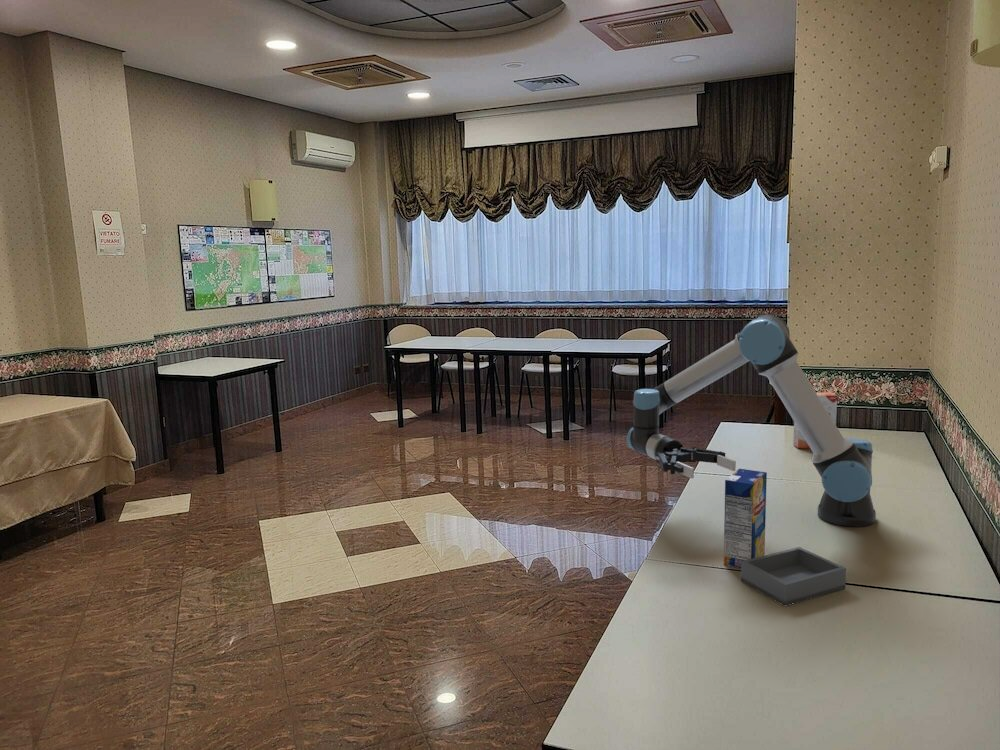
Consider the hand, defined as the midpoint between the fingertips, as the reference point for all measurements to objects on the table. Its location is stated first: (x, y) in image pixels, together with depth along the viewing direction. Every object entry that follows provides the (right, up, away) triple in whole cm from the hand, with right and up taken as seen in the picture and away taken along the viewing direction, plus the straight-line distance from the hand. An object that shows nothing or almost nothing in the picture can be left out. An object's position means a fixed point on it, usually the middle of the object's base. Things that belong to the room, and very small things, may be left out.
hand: (713, 469), depth 195 cm
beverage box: (+6, -22, -7) cm, 24 cm away
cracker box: (+65, -3, +92) cm, 112 cm away
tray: (+12, -24, -21) cm, 34 cm away
